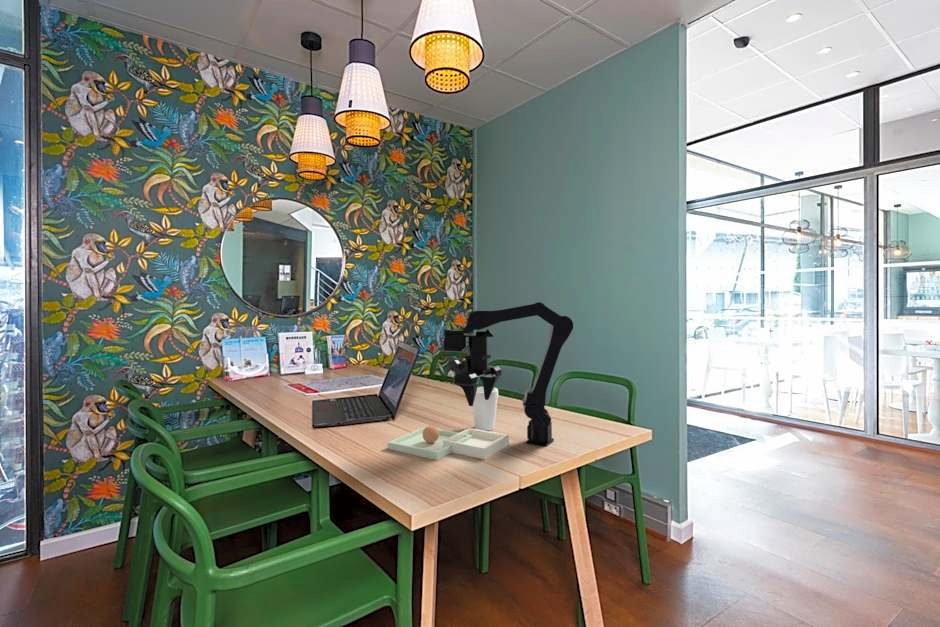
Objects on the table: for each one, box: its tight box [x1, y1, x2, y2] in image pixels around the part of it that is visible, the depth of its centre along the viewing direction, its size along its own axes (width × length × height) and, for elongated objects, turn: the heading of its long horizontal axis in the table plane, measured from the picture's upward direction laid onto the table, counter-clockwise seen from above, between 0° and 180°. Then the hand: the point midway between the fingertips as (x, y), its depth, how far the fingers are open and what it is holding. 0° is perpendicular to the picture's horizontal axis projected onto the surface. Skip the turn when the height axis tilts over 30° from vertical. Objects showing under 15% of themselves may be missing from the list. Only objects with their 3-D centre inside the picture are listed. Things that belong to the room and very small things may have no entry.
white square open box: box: [443, 427, 510, 460], centre depth 132 cm, size 14×14×3 cm
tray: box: [387, 426, 472, 461], centre depth 135 cm, size 18×18×2 cm
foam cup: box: [471, 386, 499, 431], centre depth 151 cm, size 10×9×13 cm
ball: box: [422, 425, 439, 443], centre depth 135 cm, size 5×5×5 cm
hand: (479, 402), depth 137 cm, fingers open, 9 cm apart
